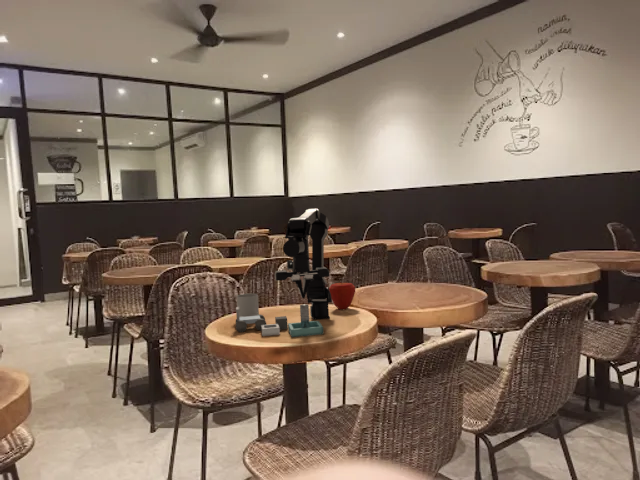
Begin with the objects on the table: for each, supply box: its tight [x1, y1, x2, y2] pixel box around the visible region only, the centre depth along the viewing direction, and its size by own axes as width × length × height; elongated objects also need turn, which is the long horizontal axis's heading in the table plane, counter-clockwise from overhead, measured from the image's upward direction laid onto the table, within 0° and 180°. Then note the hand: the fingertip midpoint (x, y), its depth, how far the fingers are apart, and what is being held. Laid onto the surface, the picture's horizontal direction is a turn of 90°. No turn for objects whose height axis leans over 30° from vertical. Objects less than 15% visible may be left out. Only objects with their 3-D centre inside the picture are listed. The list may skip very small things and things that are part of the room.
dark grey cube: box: [274, 315, 288, 331], centre depth 177 cm, size 4×4×4 cm
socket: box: [261, 323, 281, 337], centre depth 170 cm, size 6×6×2 cm
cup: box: [236, 293, 260, 317], centre depth 193 cm, size 8×8×10 cm
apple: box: [328, 281, 356, 310], centre depth 206 cm, size 11×11×12 cm
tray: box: [287, 320, 324, 338], centre depth 169 cm, size 11×10×2 cm
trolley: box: [235, 306, 267, 333], centre depth 179 cm, size 11×9×8 cm
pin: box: [299, 303, 310, 328], centre depth 169 cm, size 3×3×9 cm
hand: (303, 298), depth 170 cm, fingers closed
